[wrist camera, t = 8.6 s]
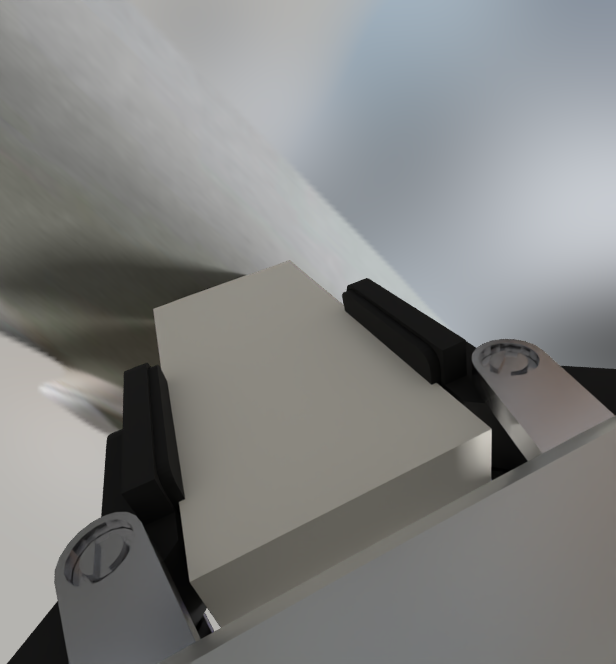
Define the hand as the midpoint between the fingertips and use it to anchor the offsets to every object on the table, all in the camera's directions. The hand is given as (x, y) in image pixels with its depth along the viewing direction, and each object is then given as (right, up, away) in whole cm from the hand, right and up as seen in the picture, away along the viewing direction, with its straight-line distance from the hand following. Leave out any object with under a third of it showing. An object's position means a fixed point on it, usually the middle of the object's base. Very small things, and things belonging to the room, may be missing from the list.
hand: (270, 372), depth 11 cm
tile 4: (-2, +2, +4) cm, 5 cm away
